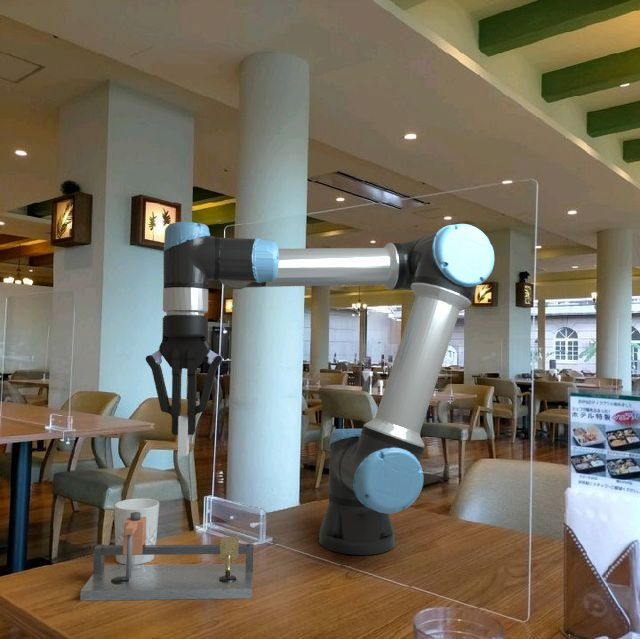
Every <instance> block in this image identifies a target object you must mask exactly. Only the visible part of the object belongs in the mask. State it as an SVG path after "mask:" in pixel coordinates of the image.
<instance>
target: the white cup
mask: <svg viewBox="0 0 640 639" xmlns="http://www.w3.org/2000/svg"><path fill="white" fill-rule="evenodd" d="M133 512H140V513H141V516H140V517H146V545H157V536H158V526H159V524H158V523H159V514H160V513H159V512H160V501H158V500H156V499H153V498H130V499H124V500H120V501H117V502H116V503H115V504H114V533H115V534H114V538H115V543H114V545H123V539H124V522H125V520H126V519H127V518H128V517H131V513H133ZM154 559H155V555H132V565H145V564H147V563H150V562H152V561H153V560H154ZM115 560H116V562H117V563H118V564H119V565H126V562H127V555H115Z"/></svg>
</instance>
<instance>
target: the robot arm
mask: <svg viewBox="0 0 640 639" xmlns="http://www.w3.org/2000/svg"><path fill="white" fill-rule="evenodd" d="M163 243H164V244H163V289H162V290H163V291H162V311H163V312H164V313H166V314H165V315H163V317H162V339H161V343H160V344H159V347H158V350H157V351H155V352H154V353H152V354H149V355H146V356H145V362H146V363H147V365H148V366H149V367H150V370H151V372H152V376H153V381H154V387H155V390H156V394H157V398H158V403H159V406H160V407H159V408H160V411H161V412H162V413H166V414H168V415H170V417H171V434H172V436H177V456H178V457H187V456H188V455H189V453H190V435H191V436H194V435H195V432H196V424H197V422H196V421H197V415H198V414H200V413H204V412H205V411H206V410H207V408H208V406H209V400H210V397H211V393H212V389H213V385H214V381H215V377H216V373H217V369H218V368H219V367H220V365H221V364H222V362H223V361H224V358H223V356H222V355H219V354H218V353H215V351H212V350H211V345H210V344H209V341H208V338H209V337H208V335H209V334H208V333H209V332H208V328H209V324H208V323H209V318H208V316H206V315H205V314H207V313H208V311H209V281H214V282H215V281H216V282H218V281H219V282H220V283H221V284H222V285H223V286H224V287H226V288H228V289H231V290H243V289H245V288H272V287H273V288H274V287H275V288H276V287H320V286H321V287H323V286H324V287H326V286H327V287H328V286H329V287H330V286H333V287H334V286H338V287H339V286H375V285H376V286H381V285H382V286H384V288H386V289H387V290H389V291H390V290H407V291H412V292H413V294H414V296H415V298H414V301H413V304H412V307H411V310H410V313H409V316H408V319H407V322H406V325H405V328H404V330H403V334H402V337H401V340H400V342H399V345H398V348H397V351H396V354H395V358H394V360H393V363H392V365H391V366H392V367H391V369H390V372H389V376H388V378H387V381H386V385H385V387H384V390H383V394H382V396H381V399H380V403H379V406H378V408H377V411H376V414H375V417H374V418H373V419H372V420H370V421H368V422H366V423H363V426H362V428H336V429H333V430H332V431H331V433H330V438H329V444H328V447H329V471H328V472H329V473H328V474H329V476H328V478H329V479H328V505H327V508H326V510H325V514H324V517H323V519H322V522H321V525H320V528H319V536H318V537H319V540H318V542H319V545H321V547H323V548H325V549H326V550H328V551H332V552H334V553H339V554H345V555H351V556H352V555H354V556H369V555H370V556H371V555H378V554H383V553H386V552H388V551H391V550H392V549H393V548H394V547H395V544H396V543H395V541H396V540H395V538H396V537H395V536H396V535H395V530H394V526H393V524H392V521H391V520H392V519H391V517H390V514H396V513H400V512H402V511H403V510H406V509H408V508H409V507H411V505H412V504H414V503H415V502H416V500H417V499H418V497H419V496H420V494H421V492H422V489H423V487H424V480H425V478H424V477H425V476H424V471H423V468H422V465H421V463H420V462H421V459H422V455H423V454H424V453H423V452H424V450H425V443H424V441H423V439H422V437H421V431H422V428H423V425H424V422H425V419H426V415H427V412H428V409H429V406H430V403H431V400H432V397H433V394H434V391H435V388H436V385H437V382H438V380H439V376H440V373H441V370H442V366H443V364H444V361H445V358H446V354H447V351H448V348H449V345H450V342H451V339H452V336H453V333H454V330H455V326H456V324H457V321H458V318H459V314H460V312H461V311H463V310H464V309H467V308H468V307H470V306H471V304H472V301H473V299H474V295H475V293H476V290H477V286H479V285H481V284H482V283H484V282H485V281H486V280H487V279H488V278H490V275H491V274H492V272H493V269H494V266H495V251H494V247H493V245H492V244H491V241H490V239H489V237H488V236H487V235H486V234H485V233H484V232H483V231H482V230H481V229H479V228H477V227H476V226H474V225H471V224H467V223H457V224H450V225H449V224H448V225H446V226H443V227H442V228H440V229H439V230H438V231H435V232H433V233H429V234H427V235H424V236H422V237H417V238H415V239H413V240H409V241H408V240H407V241H404V242H388V243H386V244H385V245H384V246H383V247H359V248H358V247H350V248H349V247H347V248H346V247H345V248H343V247H339V248H338V247H336V248H332V247H329V248H327V247H325V248H320V247H319V248H317V247H316V248H314V247H313V248H308V247H307V248H279V246H278V243H276V241H274V240H270V239H261V238H259V237H256V238H241V237H240V238H239V237H237V238H236V237H218V236H217V237H216V236H211V233H210V228H209V227H208V225H206V224H204V223H201V222H193V221H177V222H171V223H170V224H168V225H167V227H166V228H165V230H164V241H163ZM207 357H208V360H207V363H208V365H209V367H208V369H207V372H206V377H205V379H204V380H205V381H204V383H203V384H204V385H203V389H202V391H201V392H202V393H201V397H200V401H199V403H198V405H197V388H198V387H197V386H198V385H197V379H198V377H197V375H198V368H199V367H200V366H201V365H202V364H203V362H204V360H206V358H207ZM162 358H163V359H164V360H165V361H166V363H167V365H169V367H170V368H171V379H172V380H171V404H170V399H169V396H168V391H167V387H166V382H165V378H164V373H163V369H162V366H161V364H162V362H163V359H162ZM183 369H185V370H187V402H186V403H187V407H186V410H187V411H186V414H181V413H182V373H183Z"/></svg>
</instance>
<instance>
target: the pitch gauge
mask: <svg viewBox="0 0 640 639" xmlns="http://www.w3.org/2000/svg"><path fill="white" fill-rule="evenodd" d="M254 545H255V544H254V543H246V544H243V543H242V544H241V543H240V536H221V538H220V543H219V544H155V545H143V550H142V554H132V555H154V556H156V555H159V556H160V555H161V556H162V555H164V556H165V555H166V556H167V555H219V559H220V560H221V559H225V563H217V564H215V563H208V564H207V563H204V564H203V563H202V564H201V563H200V564H198V563H196V564H193V563H189V564H188V563H187V564H185V563H184V564H181V563H180V564H139V565H132V568H131V578H130V579H126V565H125V564H110V565H109V564H105V556H116V555H127V554H123V545H115V544H111V545H110V544H108V545H107V544H96V545H95V547H94V548H93V565H92V566H93V571H92V572H93V573H92V575H91V576H90V577H89V578H88V580H87V582H86V583H85V584H84V585H83V587H82V588H81V589H80V597H79V598H80V600H79V601H80V602H83V601H84V602H86V601H87V602H89V601H90V602H91V601H97V602H98V601H155V600H157V601H160V600H161V601H164V600H165V601H166V600H171V601H172V600H217V599H218V600H220V599H221V600H222V599H223V600H224V599H225V600H227V599H228V600H231V599H232V600H233V599H235V600H237V599H252V598H253V578H254ZM239 555H245V563H231V561H232V559H239Z"/></svg>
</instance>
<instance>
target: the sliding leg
mask: <svg viewBox="0 0 640 639" xmlns="http://www.w3.org/2000/svg"><path fill="white" fill-rule="evenodd" d="M140 516H141V513H140V512H133V513H131V517H128V518H127V519H126V520H125V522H124V539H123V554H127V562H126V579H130V578H131V568H132V554H142V550H143V545H146V517H140Z"/></svg>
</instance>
